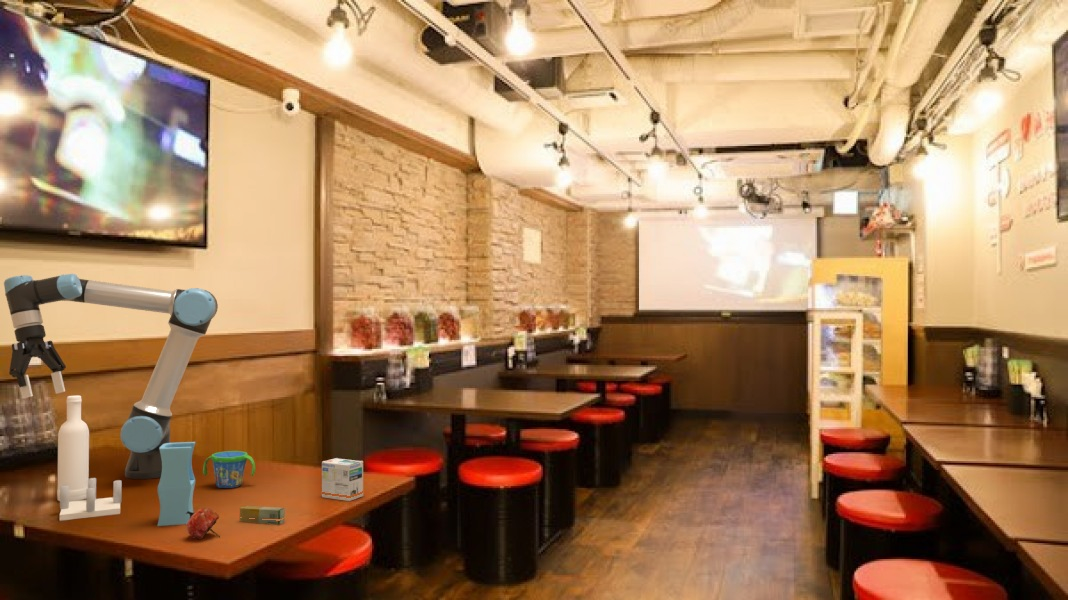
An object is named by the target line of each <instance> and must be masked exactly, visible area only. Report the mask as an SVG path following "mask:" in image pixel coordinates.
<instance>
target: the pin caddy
mask: <svg viewBox="0 0 1068 600" xmlns="http://www.w3.org/2000/svg"><path fill="white" fill-rule="evenodd" d="M122 481H123V480H120V479H117V480H114V481H113V486H112V487H113V488H112V489H113V491H112V492H113V494H112V495H113V496H112V497H111V496H110V497H104V498H102V497H101V498H97V478H96V477H90V478H89V479H88V488H87V489H86V499H84V500H80V501H72V502H69V485H64V486H60V501H59V509H60V512H59V521H60V522H62V521H68V520H69V521H70V520H77V519H87V518H97V517H104V516H113V515H120V514H121V503H122V497H123V496H122V495H123V494H122V490H123V489H122V488H123V487H122V486H123V485H122V484H123V483H122Z"/></svg>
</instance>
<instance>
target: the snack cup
mask: <svg viewBox="0 0 1068 600" xmlns="http://www.w3.org/2000/svg"><path fill="white" fill-rule="evenodd" d="M209 460H211V462H212V464H213V467H212V468H213V474H214V480H215V481H214V482H215V486H216V487H217V488H218V489H233V488H238V487H241V486H242V484H243V481H244V479H243V478H244V472H245V468H246V464H247V461H249V462H250V464H251V466H252V467H251V474H250V476H251V477H253V476H254V475H255V473H256V462H255V461H254V458H253V457H252V456H250V455H249V454H248V452H246V451H242V450H241V451H239V450H227V451H220V452H215V453H212V454H211V455H210V456H209V457H207V458H206V459H205V460H204V463H203V467H202V473H203V476H205V477H206V476H207V475H208V473H209V472H208V467H207V466H208V462H209ZM240 483H241V484H240ZM236 484H238V485H236ZM231 485H232V486H231Z"/></svg>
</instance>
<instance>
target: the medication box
mask: <svg viewBox="0 0 1068 600" xmlns="http://www.w3.org/2000/svg"><path fill="white" fill-rule="evenodd" d="M285 511H286V508H285V507H276V506H274V507H273V506H258V505H255V506H254V505H244V506H241V507H239V522H240V523H248V524H249V523H251V524H260V525H261V524H264V525H275V526H276V525H277V526H280V525H282V524H284V523H285V521H286V520H285V518H286V517H285V515H286V512H285ZM240 517H242V518H240ZM284 517H285V518H284ZM249 518H255V519H249ZM282 518H284V519H283V520H280V521H276V520H262V519H282Z"/></svg>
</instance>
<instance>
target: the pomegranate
mask: <svg viewBox="0 0 1068 600" xmlns="http://www.w3.org/2000/svg"><path fill="white" fill-rule="evenodd" d="M187 513H188V514H190V519H189V521H188V522H187V524H185V525H186V531H187V533H188V534H189V536H190V537H191V538H193V539H197V540H201V539H202V538H203V537H204V536H205V535H206V534H208V532H211V533H212V534H214V535H216V536H217V537H219V538H220V537H221V535H219V534H218V532H215V531H214V530H213V529H212V528H213V526H215V524H216V523H217V521H218V520H219V519H220V515H219V513H218V512H217V511H216V510H215V509H213V508H210V507H202V508H199V509H197V511H195V512H193V513H192V512H189V511H188V512H187ZM187 513H186V514H187Z"/></svg>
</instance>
